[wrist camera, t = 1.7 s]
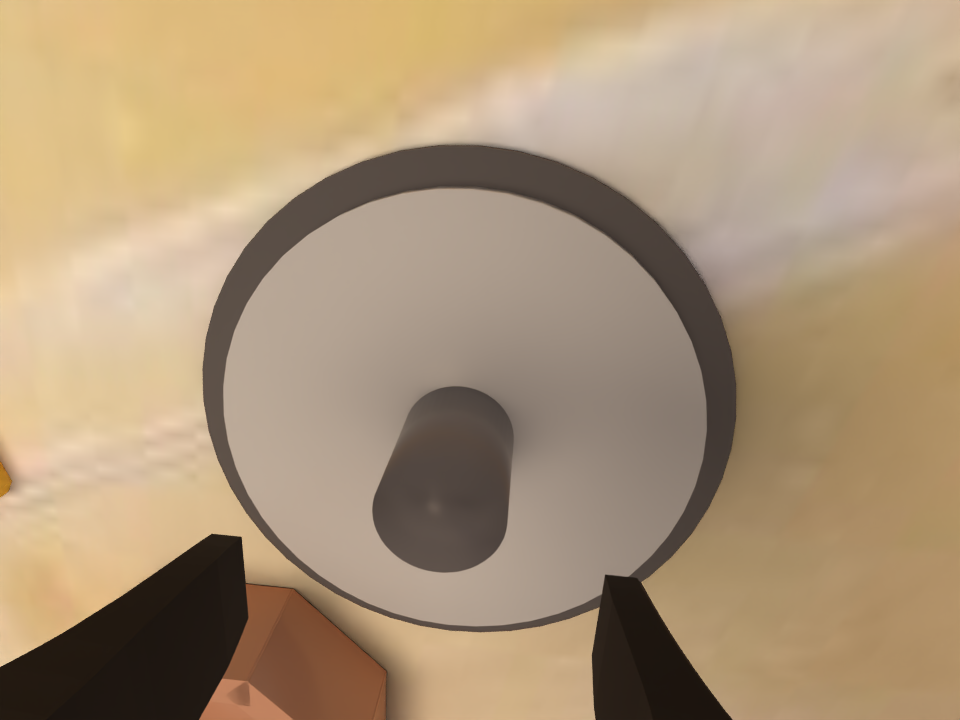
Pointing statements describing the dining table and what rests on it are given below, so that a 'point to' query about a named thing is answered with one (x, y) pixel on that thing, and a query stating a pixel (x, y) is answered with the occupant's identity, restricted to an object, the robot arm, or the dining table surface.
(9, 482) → the dish sponge
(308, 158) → the dining table surface
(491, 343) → the lid
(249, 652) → the bowl
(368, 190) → the mat
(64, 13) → the dining table surface
